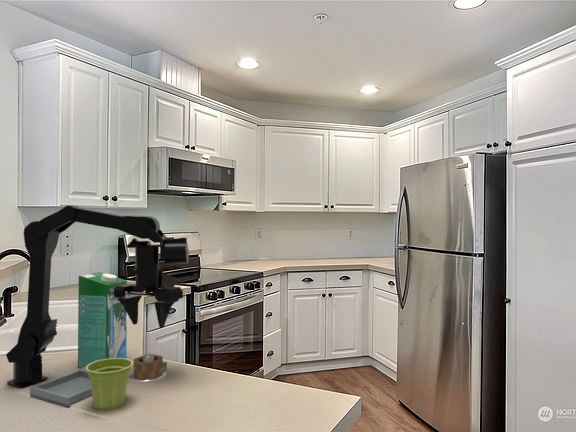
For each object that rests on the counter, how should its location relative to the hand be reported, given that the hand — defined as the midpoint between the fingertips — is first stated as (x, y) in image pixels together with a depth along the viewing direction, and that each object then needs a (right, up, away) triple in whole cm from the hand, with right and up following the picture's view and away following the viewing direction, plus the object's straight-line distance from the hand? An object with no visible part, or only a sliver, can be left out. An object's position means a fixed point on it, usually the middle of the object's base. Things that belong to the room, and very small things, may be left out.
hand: (148, 325), depth 107 cm
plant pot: (-3, -13, -16) cm, 21 cm away
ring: (0, -13, +1) cm, 13 cm away
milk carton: (-16, -13, +10) cm, 23 cm away
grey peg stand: (0, -13, 0) cm, 13 cm away
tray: (-14, -13, -9) cm, 21 cm away
